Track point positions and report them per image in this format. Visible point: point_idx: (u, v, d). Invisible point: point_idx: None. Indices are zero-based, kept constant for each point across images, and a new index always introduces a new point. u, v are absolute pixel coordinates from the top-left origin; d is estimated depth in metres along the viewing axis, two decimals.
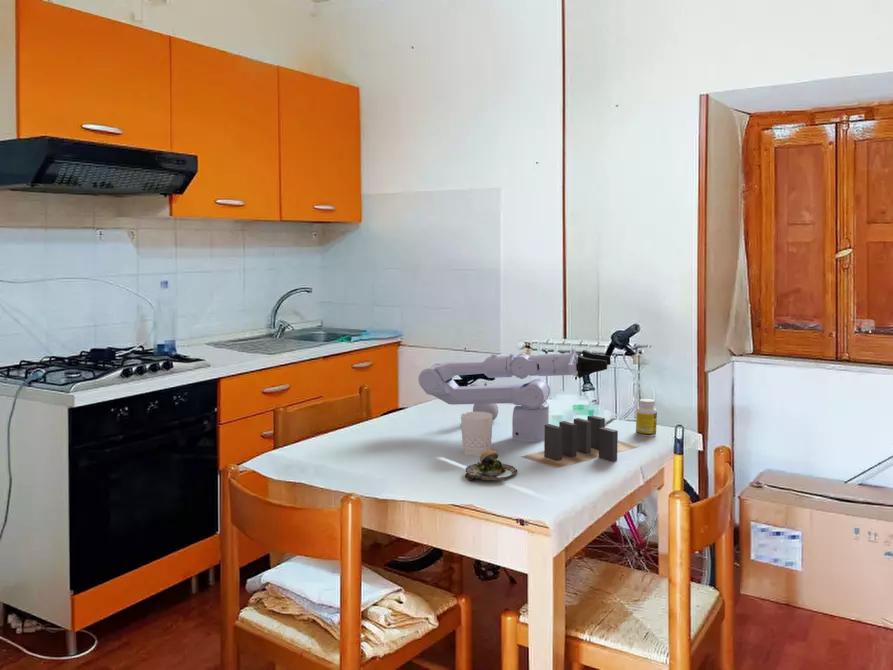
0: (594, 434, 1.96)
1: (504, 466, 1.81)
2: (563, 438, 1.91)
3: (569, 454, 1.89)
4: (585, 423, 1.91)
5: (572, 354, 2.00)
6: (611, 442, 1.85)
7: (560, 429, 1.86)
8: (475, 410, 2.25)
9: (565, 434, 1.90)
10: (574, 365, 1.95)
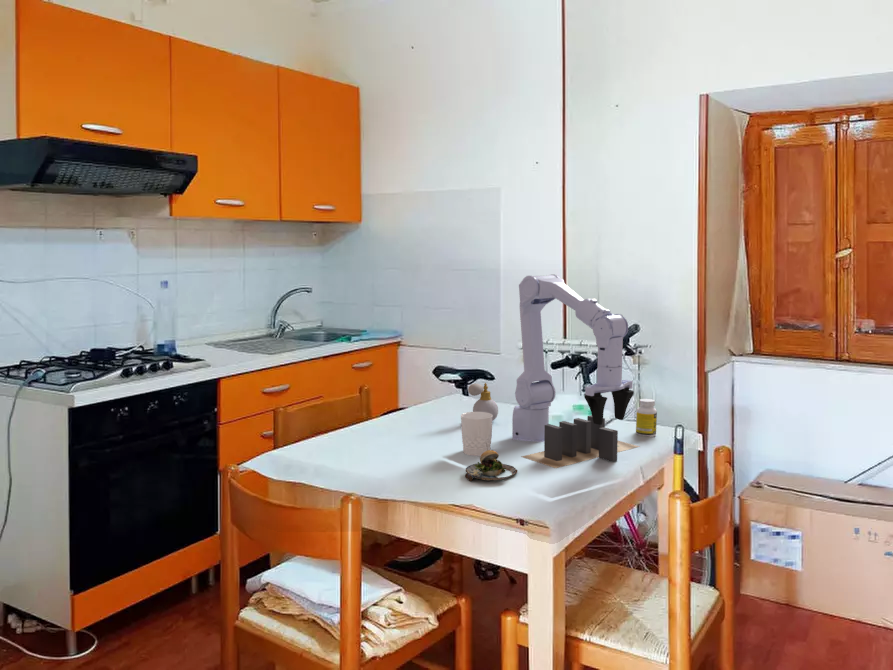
0: (594, 434, 1.96)
1: (504, 466, 1.81)
2: (563, 438, 1.91)
3: (569, 454, 1.89)
4: (585, 423, 1.91)
5: (614, 387, 1.82)
6: (611, 442, 1.85)
7: (560, 429, 1.86)
8: (475, 410, 2.25)
9: (565, 434, 1.90)
10: (590, 394, 1.80)
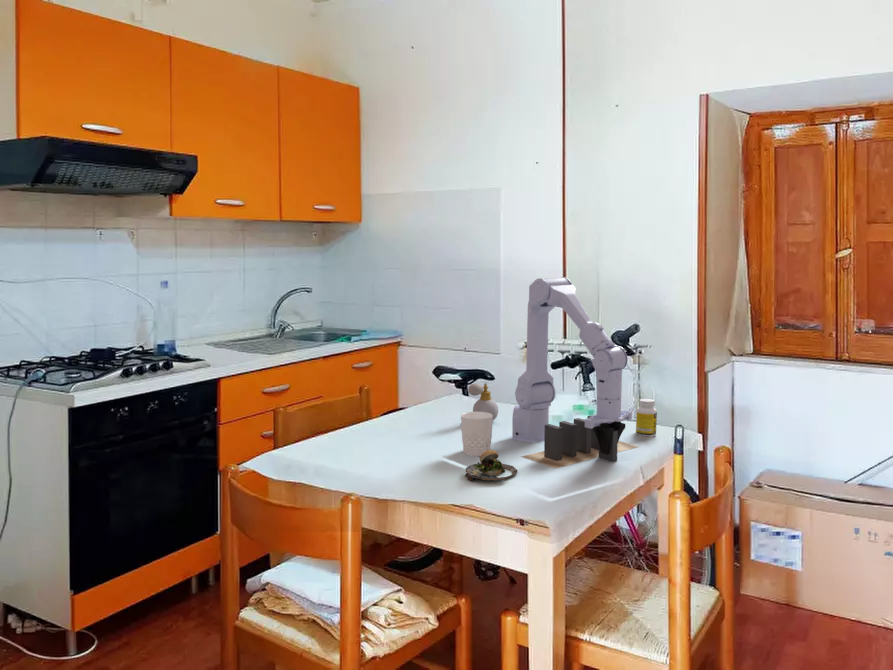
0: (594, 434, 1.96)
1: (504, 466, 1.81)
2: (563, 438, 1.91)
3: (569, 454, 1.89)
4: None
5: (613, 419, 1.83)
6: (611, 442, 1.85)
7: (560, 429, 1.86)
8: (475, 410, 2.25)
9: (565, 434, 1.90)
10: (590, 427, 1.81)
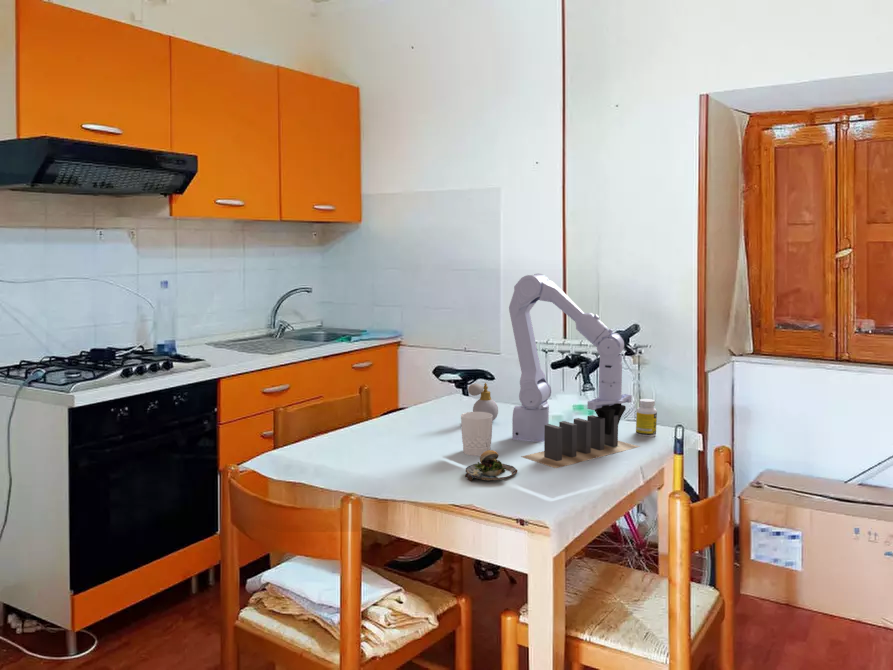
0: (594, 434, 1.96)
1: (504, 466, 1.81)
2: (563, 438, 1.91)
3: (569, 454, 1.89)
4: (585, 423, 1.91)
5: (614, 402, 1.95)
6: (612, 426, 1.97)
7: (560, 429, 1.86)
8: (475, 410, 2.25)
9: (565, 434, 1.90)
10: (592, 408, 1.94)
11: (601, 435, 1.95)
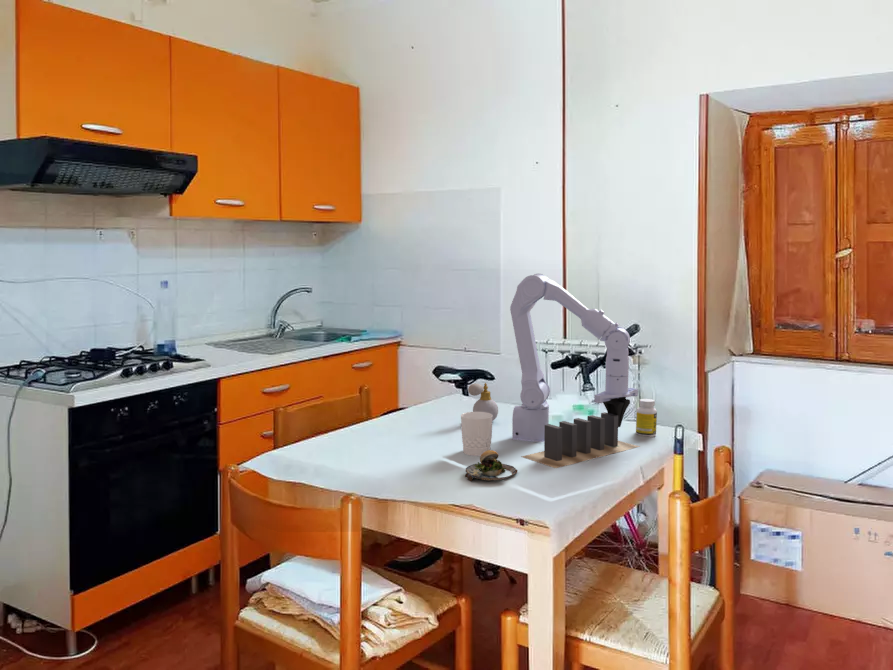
0: (594, 434, 1.96)
1: (504, 466, 1.81)
2: (563, 438, 1.91)
3: (569, 454, 1.89)
4: (585, 423, 1.91)
5: (621, 395, 1.97)
6: (612, 426, 1.97)
7: (560, 429, 1.86)
8: (475, 410, 2.25)
9: (565, 434, 1.90)
10: (599, 402, 1.95)
11: (601, 435, 1.95)
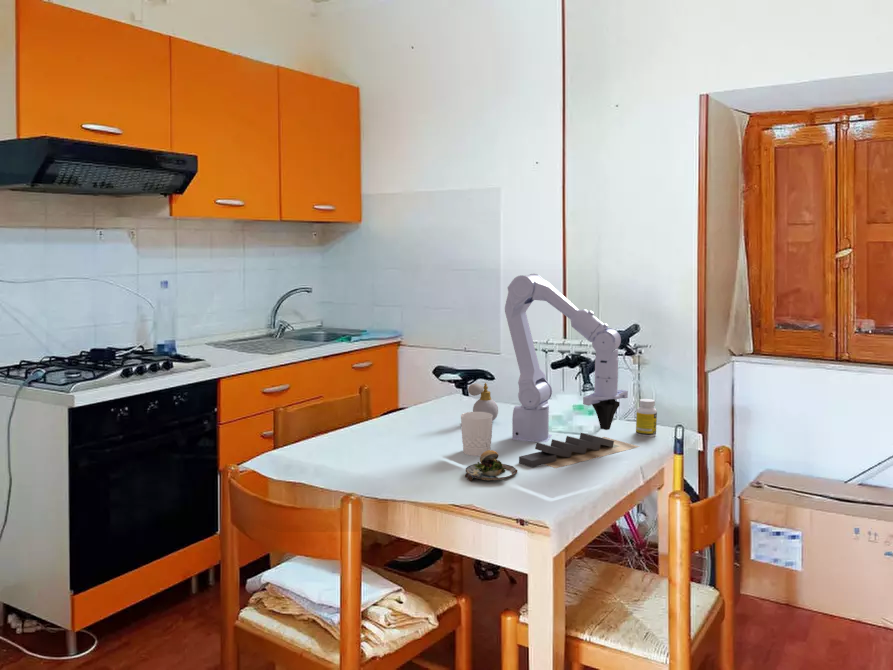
0: None
1: (504, 466, 1.81)
2: None
3: (566, 456, 1.89)
4: (563, 449, 1.87)
5: (610, 397, 1.94)
6: (598, 443, 1.95)
7: (532, 462, 1.81)
8: (475, 410, 2.25)
9: None
10: (588, 404, 1.93)
11: (589, 446, 1.92)
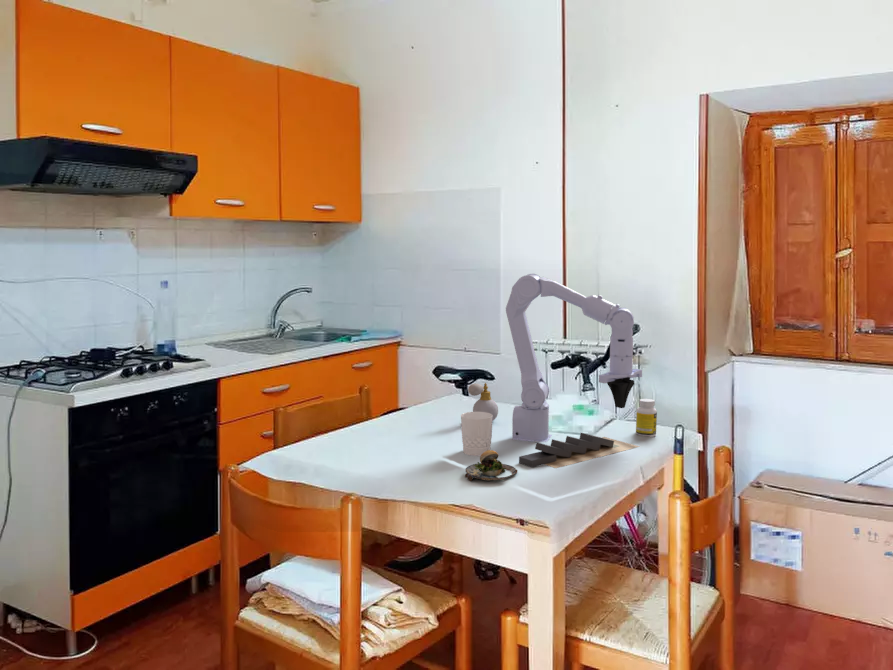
0: None
1: (504, 466, 1.81)
2: None
3: (566, 456, 1.89)
4: (563, 449, 1.87)
5: (625, 375, 1.97)
6: (598, 443, 1.95)
7: (532, 462, 1.81)
8: (475, 410, 2.25)
9: None
10: (603, 382, 1.95)
11: (589, 446, 1.92)
